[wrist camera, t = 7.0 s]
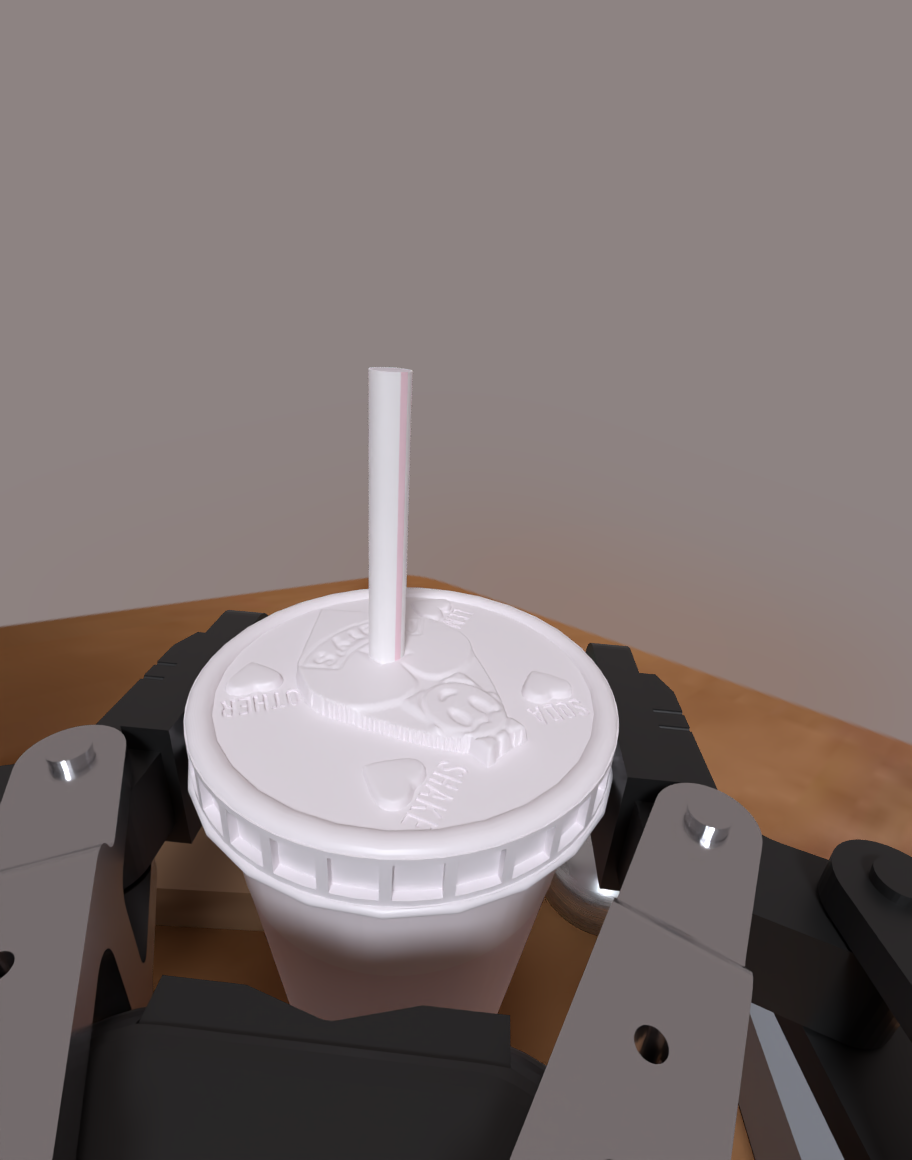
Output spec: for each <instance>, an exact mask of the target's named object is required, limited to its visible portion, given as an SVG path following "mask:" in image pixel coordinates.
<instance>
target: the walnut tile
mask: <svg viewBox="0 0 912 1160" xmlns="http://www.w3.org/2000/svg"><path fill="white" fill-rule="evenodd" d="M155 861H156V866H157V891H156V914H155V925H161V926H179V927H197V928H215V929H232V930H250V931H264V929H263V926H262V924H261V921H260V918H259V915H258V912H257V909H256V906H255V904H254V901H253V898H252V896H251V893H250V891H249V889H248V886H247V884H246V881H245V878H244V874H243V871H242V870H241V869H240V868H239V867H238V866H237V865H236V864H235V863H234V862H233V861H232V860H231V859H230V858H229V857H228V856H227V855H226V854H225V853H224V852H223V851H222V850H221V849H220V848H219V847H218V846H217V845H216V844H215V843H214V842H213V841H212V840H211V839H210V838H209V837H208V836H207V835H206V833H205V830H204V828H203V826H202V827H201V828H200V830H199V832H198V834H197V835H196V837H195V839H194V840H193V842H192V844H188V843H178V842H169V841H165V842H164V844H163V845H162V847H161V848H160V850H159V852H158V853H157V855H156V856H155Z"/></svg>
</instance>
